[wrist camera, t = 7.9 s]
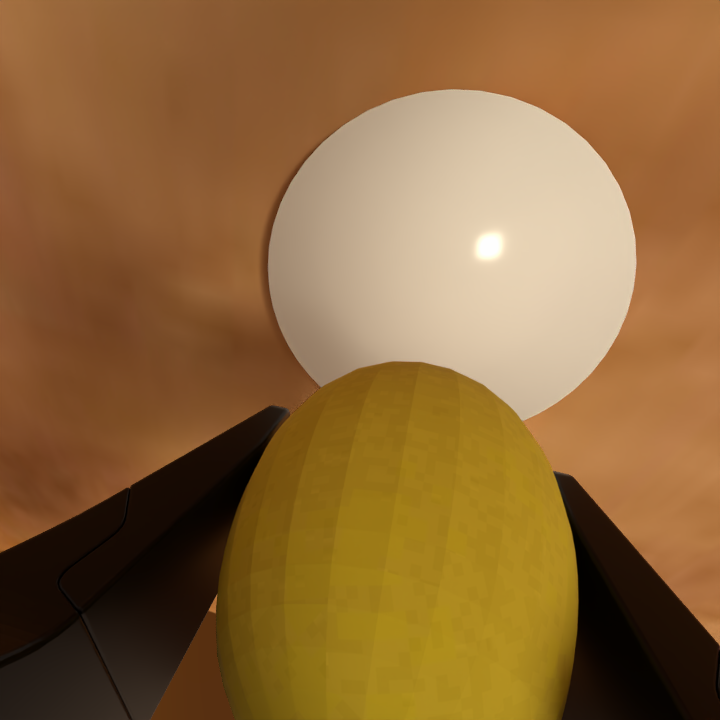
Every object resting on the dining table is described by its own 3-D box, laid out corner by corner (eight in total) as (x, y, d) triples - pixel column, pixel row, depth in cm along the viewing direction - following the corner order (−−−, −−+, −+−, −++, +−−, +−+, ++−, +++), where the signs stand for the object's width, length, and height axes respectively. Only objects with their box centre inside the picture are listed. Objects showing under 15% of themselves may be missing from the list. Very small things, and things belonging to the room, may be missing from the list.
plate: (708, 121, 13) (726, 122, 12) (547, 450, 20) (551, 465, 19) (278, 66, 14) (266, 62, 14) (275, 388, 22) (268, 399, 21)
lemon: (444, 504, 12) (420, 966, 6) (285, 410, 12) (52, 799, 5) (589, 384, 9) (892, 1052, 3) (385, 251, 9) (140, 681, 2)
